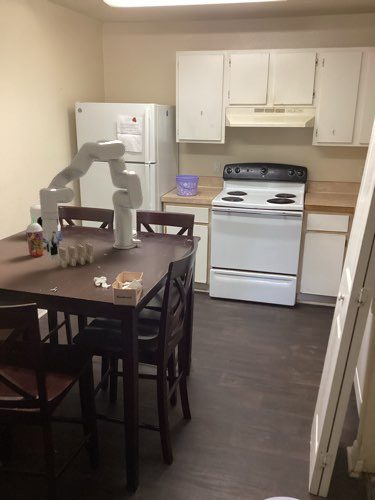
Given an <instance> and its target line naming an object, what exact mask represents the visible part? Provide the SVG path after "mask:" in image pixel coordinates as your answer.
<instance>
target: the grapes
mask: <svg viewBox="0 0 375 500" xmlns="http://www.w3.org/2000/svg"><path fill="white" fill-rule="evenodd" d="M58 234H59V239H58V240H57V241H58V242H57V246H59V245H60V242H62V241H63V237H62V232H61V230H60V231H58ZM43 244H47V243H46V239H45V238H44V237H43Z"/></svg>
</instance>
